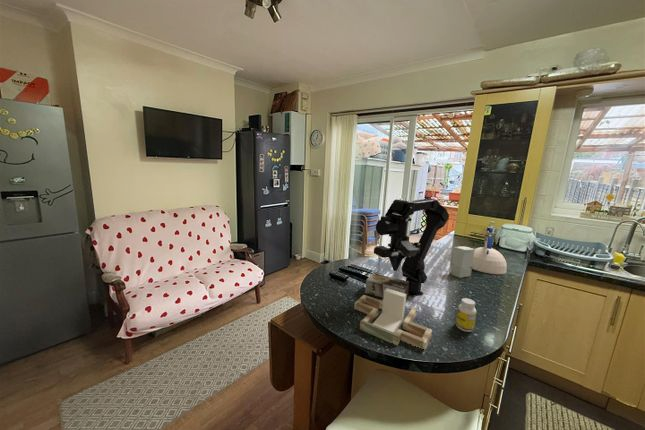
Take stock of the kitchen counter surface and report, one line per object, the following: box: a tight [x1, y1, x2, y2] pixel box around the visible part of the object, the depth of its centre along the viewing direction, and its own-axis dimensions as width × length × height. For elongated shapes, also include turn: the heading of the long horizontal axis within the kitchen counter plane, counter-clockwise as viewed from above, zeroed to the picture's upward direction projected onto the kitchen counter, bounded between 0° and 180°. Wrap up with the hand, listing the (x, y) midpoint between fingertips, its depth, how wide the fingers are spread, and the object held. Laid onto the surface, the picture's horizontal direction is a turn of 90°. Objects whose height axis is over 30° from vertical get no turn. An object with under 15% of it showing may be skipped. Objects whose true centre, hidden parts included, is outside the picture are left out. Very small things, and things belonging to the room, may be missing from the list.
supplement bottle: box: [455, 297, 477, 333], centre depth 86 cm, size 5×5×10 cm
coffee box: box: [364, 272, 409, 300], centre depth 107 cm, size 9×6×16 cm
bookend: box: [372, 288, 407, 333], centre depth 86 cm, size 11×7×10 cm, turn 145°
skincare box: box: [450, 246, 476, 279], centre depth 132 cm, size 8×6×15 cm
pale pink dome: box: [472, 236, 508, 275], centre depth 145 cm, size 20×21×18 cm
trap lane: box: [353, 294, 433, 351], centre depth 88 cm, size 21×27×3 cm
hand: (395, 270), depth 101 cm, fingers closed
